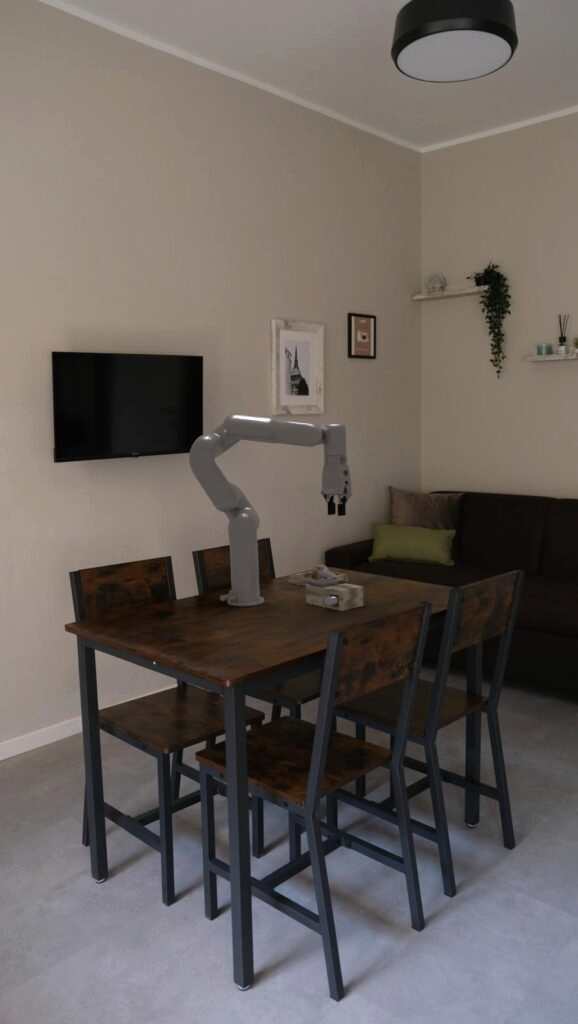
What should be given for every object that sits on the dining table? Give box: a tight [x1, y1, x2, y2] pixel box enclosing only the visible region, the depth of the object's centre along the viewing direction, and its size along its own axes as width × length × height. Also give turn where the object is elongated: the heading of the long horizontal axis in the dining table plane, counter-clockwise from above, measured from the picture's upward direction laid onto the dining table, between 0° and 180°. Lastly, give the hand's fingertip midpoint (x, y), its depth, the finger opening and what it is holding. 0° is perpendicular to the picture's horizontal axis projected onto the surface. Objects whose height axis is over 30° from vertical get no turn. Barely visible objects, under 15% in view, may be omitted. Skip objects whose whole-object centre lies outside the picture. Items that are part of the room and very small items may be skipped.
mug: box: [311, 563, 336, 580], centre depth 317 cm, size 8×10×10 cm
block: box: [305, 577, 364, 612], centre depth 278 cm, size 10×17×8 cm, turn 42°
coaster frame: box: [287, 570, 349, 587], centre depth 316 cm, size 16×15×3 cm
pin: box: [323, 595, 339, 608], centre depth 274 cm, size 15×4×4 cm, turn 132°
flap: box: [308, 578, 341, 587], centre depth 280 cm, size 9×7×1 cm
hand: (336, 514), depth 280 cm, fingers open, 4 cm apart
